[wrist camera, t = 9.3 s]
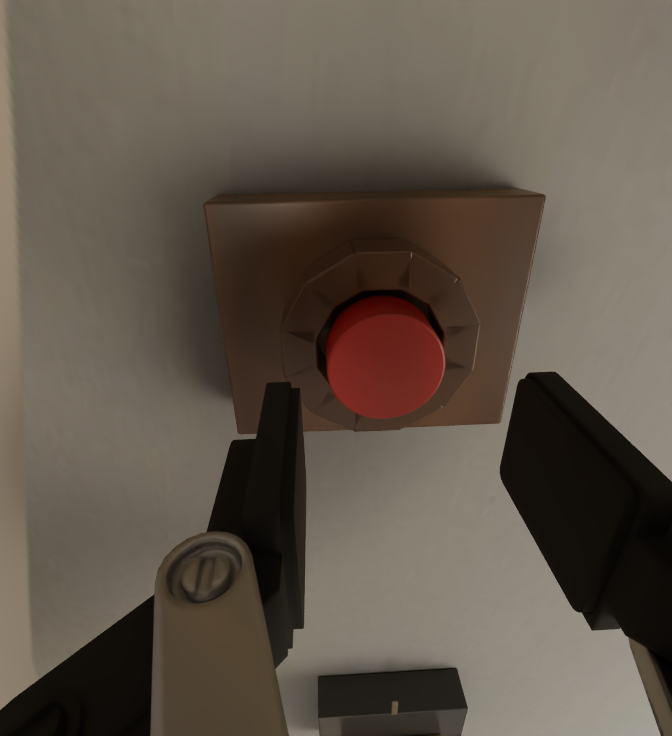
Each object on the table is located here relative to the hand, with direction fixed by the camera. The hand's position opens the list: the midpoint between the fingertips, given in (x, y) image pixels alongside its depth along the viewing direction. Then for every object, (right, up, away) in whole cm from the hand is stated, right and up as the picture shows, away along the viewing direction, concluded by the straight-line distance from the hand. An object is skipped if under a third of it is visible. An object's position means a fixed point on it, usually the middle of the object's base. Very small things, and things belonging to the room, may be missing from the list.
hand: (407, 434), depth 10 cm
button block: (0, +4, +8) cm, 9 cm away
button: (0, +2, +4) cm, 5 cm away
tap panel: (+2, -24, +22) cm, 33 cm away
